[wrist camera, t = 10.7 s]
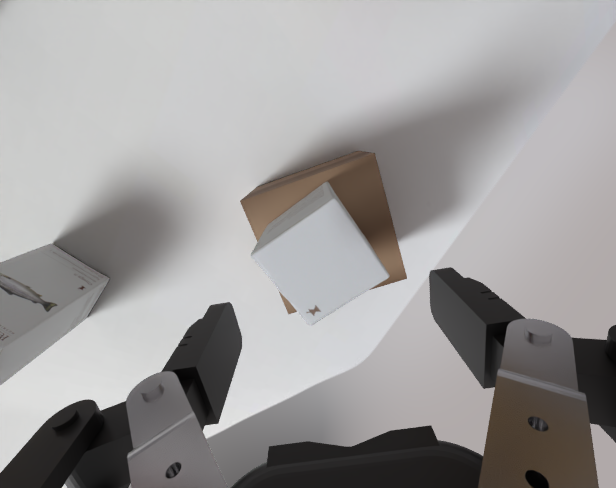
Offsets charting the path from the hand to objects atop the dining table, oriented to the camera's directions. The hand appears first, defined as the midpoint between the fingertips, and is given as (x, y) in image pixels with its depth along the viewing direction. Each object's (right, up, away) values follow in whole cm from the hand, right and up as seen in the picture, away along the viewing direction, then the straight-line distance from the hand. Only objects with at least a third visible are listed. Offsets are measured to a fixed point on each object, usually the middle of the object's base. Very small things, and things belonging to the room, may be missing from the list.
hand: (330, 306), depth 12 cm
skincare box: (0, +4, +12) cm, 13 cm away
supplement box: (-29, -2, +22) cm, 37 cm away
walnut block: (+1, +5, +20) cm, 20 cm away
